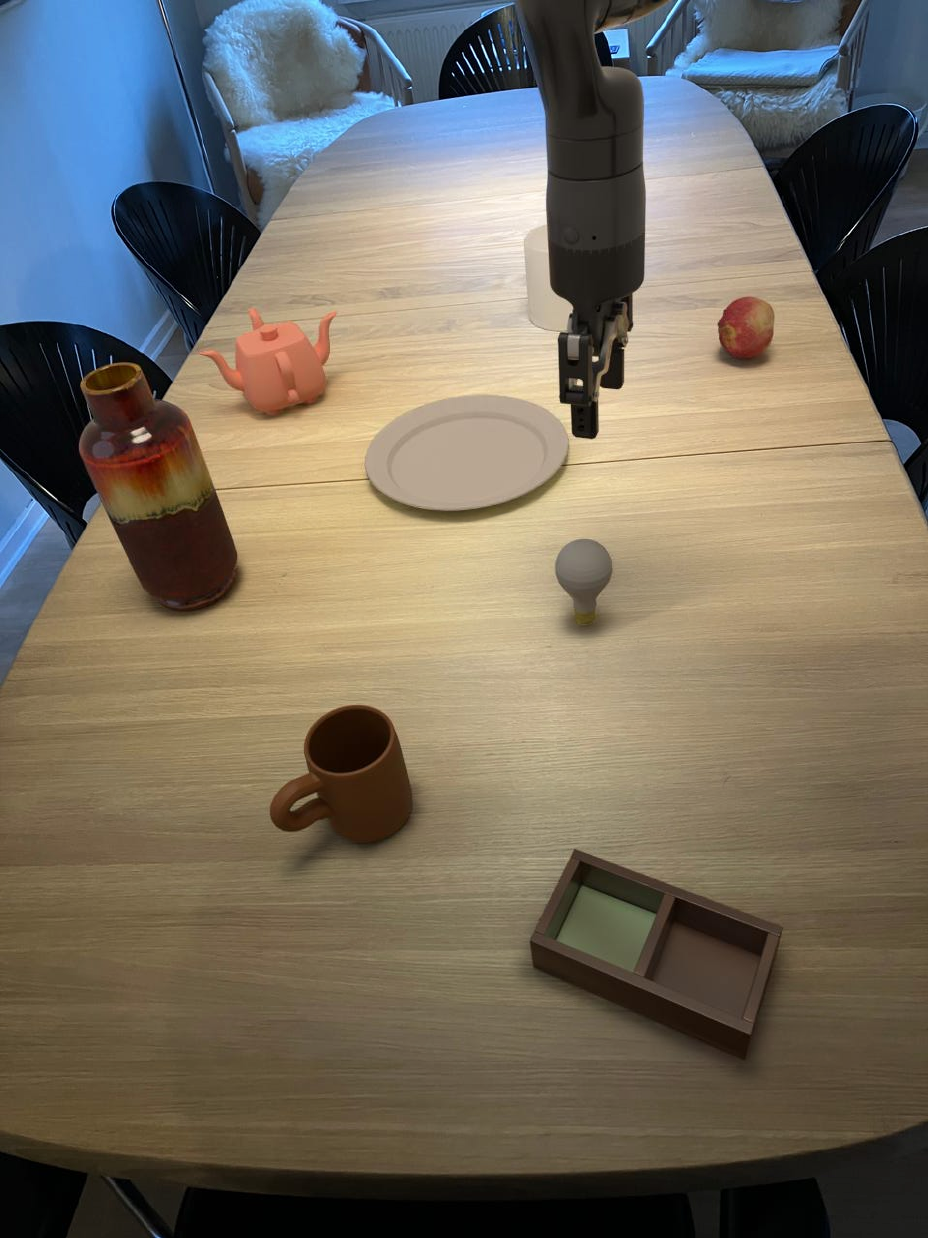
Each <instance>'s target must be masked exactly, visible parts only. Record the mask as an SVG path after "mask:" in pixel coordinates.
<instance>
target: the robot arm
mask: <svg viewBox="0 0 928 1238" xmlns="http://www.w3.org/2000/svg"><path fill="white" fill-rule="evenodd" d="M670 2H672V0H513V5H514V10H515V13H516V18H517V20H518V24H519V28H520V30H521V35H522V37H523V38H522V39H523V41H524V44H525V47H526V51H527V54H528V57H529V61H530V64H531V68H532V71H533V75H534V79H535V81H536V82H535V83H536V85H537V89H538V92H539V96H540V99H541V103H542V106H543V111H544V118H545V119H544V120H545V123H544V124H545V126H544V127H545V128H544V129H545V146H546V147H545V148H546V167H547V177H546V179H547V180H546V193H545V214H546V216H545V217H546V224H547V235H548V254H549V274H550V286H551V288H552V290H553V291H554V293H555V294H556V295H558V296H559V297H561V298H564V299H565V300H567V301H568V302H569V303H570V304H571V305H572V306H573V310H572V313H570V315H569V318H568V325H567V331H559V334H558V336H557V353H558V355H557V356H558V357H557V358H558V359H557V360H558V390H559V395H558V398H559V403H560V404H562V405H570V418H571V419H570V421H571V422H570V423H571V424H570V425H571V435H572V436H573V437H575V438H578V439H584V440H585V439H586V440H595V439H596V438H597V436H598V434H599V431H600V422H599V421H600V420H599V419H600V418H599V415H600V413H599V398H600V388H601V389H608V390H620V389H622V388H623V385H624V384H625V348H627V345H628V344H629V338H628V337H629V336H628V333H631V332H632V330H633V328H634V317H633V316H634V313H633V312H634V311H633V310H634V309H633V308H634V305H633V304H634V303H633V301H634V299H633V296H634V293H636V291H638V290H639V289H640V288H641V286H642V285H643V284H644V283H643V282H644V280H645V261H646V260H645V259H646V213H647V212H646V208H647V205H646V204H647V194H646V193H647V191H646V181H645V172H644V119H645V99H644V90H643V85H642V82H641V79H640V78H639V77H638V76H637V74H636V73H634V72H633V71H631V70H629V69H626V68H623V67H619V66H608V65H607V66H602V64H601V61H600V58H599V56H598V55H599V54H598V51H597V48H596V44H595V42H596V41H595V34H599V33H602V32H606V31H608V30H612V29H616V28H619V27H622V26H625V25H627V24H631V23H633V22H636V21H638V20H641V19H642V18H644V17H646V16H648V15H650V14H652V13H654V12H657V10H659V9H661V8H663V7H664V6H666V5H667V4H668V3H670ZM593 357H594V358H595V357H596V358H598V359H597V360H595V361H593ZM578 380H580V381H581V382H582V385H578Z"/></svg>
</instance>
